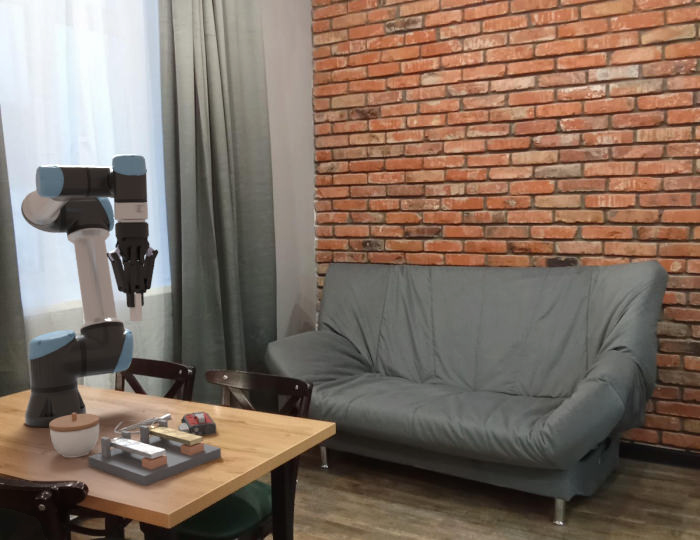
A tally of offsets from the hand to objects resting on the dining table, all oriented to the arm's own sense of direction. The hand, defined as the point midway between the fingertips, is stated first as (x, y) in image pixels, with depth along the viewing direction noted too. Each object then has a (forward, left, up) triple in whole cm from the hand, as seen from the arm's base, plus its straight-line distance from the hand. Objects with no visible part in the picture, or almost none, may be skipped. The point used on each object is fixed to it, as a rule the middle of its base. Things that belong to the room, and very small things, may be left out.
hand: (136, 320), depth 164 cm
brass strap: (+15, -2, -25) cm, 30 cm away
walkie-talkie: (+7, +11, -30) cm, 33 cm away
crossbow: (-10, +8, -30) cm, 33 cm away
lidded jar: (-5, -14, -29) cm, 33 cm away
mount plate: (+15, -7, -29) cm, 34 cm away
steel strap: (+15, -12, -25) cm, 32 cm away
